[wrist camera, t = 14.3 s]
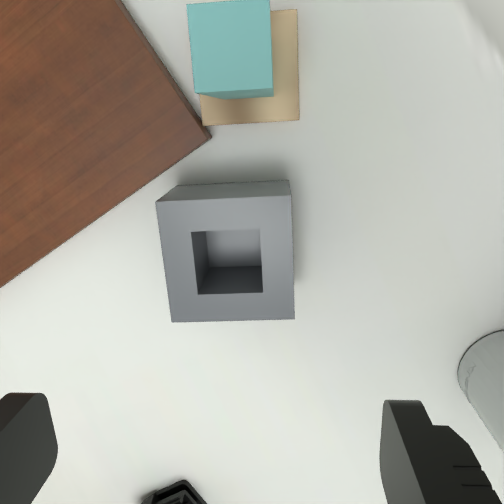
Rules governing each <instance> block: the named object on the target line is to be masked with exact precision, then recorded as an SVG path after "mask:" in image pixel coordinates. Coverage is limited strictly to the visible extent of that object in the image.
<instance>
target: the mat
mask: <svg viewBox="0 0 504 504" xmlns="http://www.w3.org/2000/svg"><path fill="white" fill-rule="evenodd" d="M270 20H271V37H272V62H273V89H274V97H259V98H243V99H226V100H224V99H220V98H215V97H211V96H206V95H202V94H200V104H201V115H202V126H210V125H226V124H243V123H260V122H276V121H293V120H299V89H298V41H297V9H292V10H280V11H270Z"/></svg>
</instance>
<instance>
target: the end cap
mask: <svg viewBox="0 0 504 504" xmlns="http://www.w3.org/2000/svg"><path fill="white" fill-rule="evenodd" d="M141 504H207V503H206V502H205V501H204V500H203V499H202V497H201V496H200V495H199V494H198V493H197V492H196V490H195V489H194V488H193V487H192V486H191V485H190V483H189V482H188V481H186V480H181V481H179V482H177V483H175V484H172V485H170V486H168V487H166V488H164V489H161V490H159V491H158V492H156V493H155V494H153V495H151V496H150V497H148V498H147V499H146V500H144V501H143V502H142V503H141Z"/></svg>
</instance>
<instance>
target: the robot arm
mask: <svg viewBox="0 0 504 504" xmlns="http://www.w3.org/2000/svg"><path fill="white" fill-rule="evenodd" d="M458 381H459V384H460V387H461V389H462V391H463V392H464V394H465V396H466V397H467V399H468V401H469V402H470V403H471V405H472V406H473V408H474V409H475V411H476V412H477V414H478V415H479V417H480V418H481V420H482V421H483V423H484V424H485V426H486V427H487V429H488V430H489V432H490V433H491V435H492V436H493V438H494V439H495V441H496V442H497V444H498V445H499V447H500V448H501V450H502V451H503V453H504V331H500V332H496V333H493V334H490V335H488V336H486V337H484V338H482V339H481V340H479V341H477V342H476V343H475V344H474V345H473V346H472V347H470V349H469V350H468V351H467V352H466V353H465V355H464V356H463V358H462V360H461V362H460V366H459V370H458ZM57 453H58V445H57V439H56V435H55V431H54V426H53V422H52V418H51V413H50V409H49V404H48V401H47V398H46V396H45V395H44V394H42V393H8V394H6V395H5V396H4V397H3V398H2V399H1V400H0V504H31V503H32V501H33V500H34V498H35V497H36V495H37V494H38V492H39V491H40V489H41V487H42V486H43V484H44V483H45V481H46V480H47V478H48V477H49V475H50V474H51V472H52V470H53V468H54V465H55V462H56V459H57ZM380 472H381V479H382V484H383V488H384V492H385V495H386V499H387V503H388V504H502V503H501V501H500V499H499V497H498V496H497V494H496V492H495V490H492V485H491V483H490V481H489V480H488V478H487V476H486V474H485V472H484V471H482V470H481V465H480V464H479V462H478V460H477V458H476V456H475V455H474V453H473V451H472V449H471V448H470V446H469V444H468V443H467V442H466V441H465V440H463V439H462V438H461V437H460V436H459V435H458V434H457V433H456V432H455V431H454V430H452V429H451V428H450V427H449V426H438V425H432V422H431V420H430V418H429V416H428V414H427V412H426V410H425V408H424V406H423V404H422V403H421V401H419V400H385V401H384V404H383V414H382V428H381V441H380Z"/></svg>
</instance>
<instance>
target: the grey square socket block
mask: <svg viewBox="0 0 504 504" xmlns="http://www.w3.org/2000/svg"><path fill="white" fill-rule="evenodd" d="M155 204H156V211H157V218H158V225H159V233H160V240H161V247H162V255H163V262H164V269H165V277H166V284H167V291H168V299H169V306H170V313H171V321H172V322H207V321H245V320H283V319H295V311H294V276H293V241H292V206H291V192H290V186H289V181H288V180H278V181H258V182H238V183H219V184H199V185H179V186H176V187H174V188H173V189H172V190H170V191H169V192H168V193H166V194H165V195H164V196H162V197H161V198H160V199H158V200H157V201H156V202H155Z"/></svg>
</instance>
